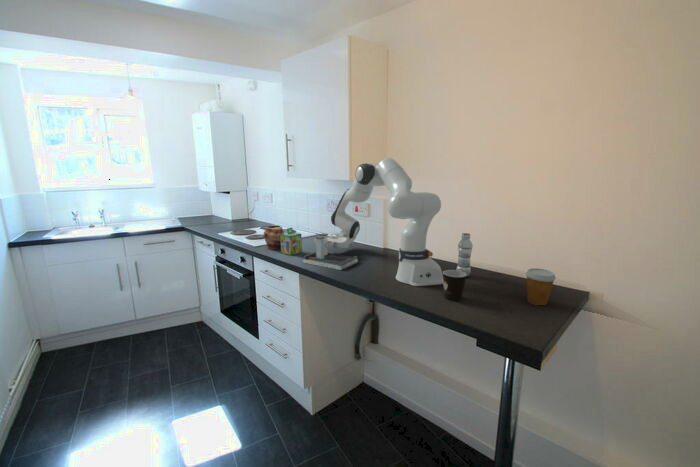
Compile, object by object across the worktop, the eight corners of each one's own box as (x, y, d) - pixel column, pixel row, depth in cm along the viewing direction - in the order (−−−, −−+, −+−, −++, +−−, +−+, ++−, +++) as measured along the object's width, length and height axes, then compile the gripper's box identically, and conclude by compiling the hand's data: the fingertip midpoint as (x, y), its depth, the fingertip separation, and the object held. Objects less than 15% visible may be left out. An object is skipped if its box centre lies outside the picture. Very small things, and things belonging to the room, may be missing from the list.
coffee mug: (466, 303, 118) (468, 277, 116) (442, 301, 120) (443, 276, 118) (461, 291, 129) (463, 268, 127) (439, 290, 131) (441, 266, 129)
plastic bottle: (469, 274, 150) (473, 233, 146) (470, 278, 144) (474, 236, 140) (455, 272, 152) (458, 232, 148) (456, 277, 146) (459, 235, 142)
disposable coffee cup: (554, 302, 119) (558, 271, 117) (548, 310, 112) (553, 278, 110) (526, 295, 126) (529, 266, 123) (519, 302, 119) (523, 272, 116)
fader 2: (328, 254, 175) (327, 233, 173) (324, 256, 173) (324, 234, 170) (323, 253, 177) (322, 233, 175) (319, 255, 174) (319, 234, 172)
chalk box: (291, 255, 182) (290, 230, 179) (280, 253, 187) (279, 228, 184) (302, 252, 189) (301, 227, 186) (291, 250, 194) (290, 226, 191)
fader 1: (324, 258, 168) (324, 236, 166) (321, 260, 165) (320, 237, 163) (319, 257, 170) (319, 236, 167) (315, 259, 167) (315, 237, 165)
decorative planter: (258, 246, 203) (256, 225, 200) (274, 243, 211) (273, 222, 208) (273, 252, 189) (272, 229, 186) (291, 248, 197) (290, 226, 194)
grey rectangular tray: (357, 262, 169) (357, 255, 168) (340, 270, 156) (340, 263, 155) (321, 255, 182) (321, 249, 181) (303, 262, 168) (303, 256, 168)
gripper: (322, 233, 189) (307, 237, 178) (351, 237, 179) (337, 241, 167) (322, 243, 190) (308, 248, 179) (351, 247, 180) (337, 253, 168)
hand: (322, 245), depth 173 cm, fingers open, 4 cm apart
